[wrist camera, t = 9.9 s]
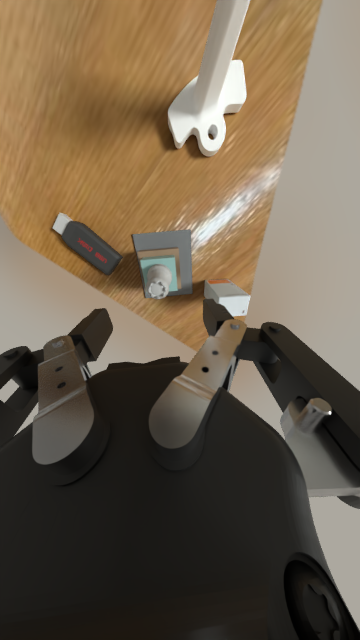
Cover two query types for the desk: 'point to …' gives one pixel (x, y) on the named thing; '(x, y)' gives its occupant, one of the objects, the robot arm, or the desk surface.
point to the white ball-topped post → (212, 83)
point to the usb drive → (87, 244)
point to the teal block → (165, 260)
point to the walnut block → (162, 252)
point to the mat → (168, 241)
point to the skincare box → (227, 296)
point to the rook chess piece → (158, 281)
